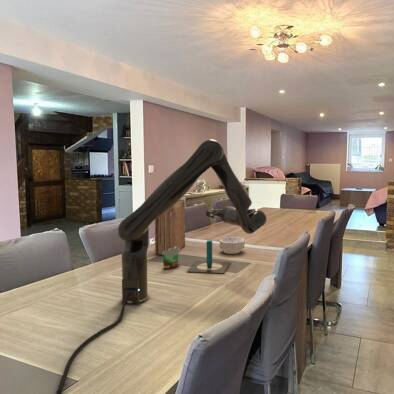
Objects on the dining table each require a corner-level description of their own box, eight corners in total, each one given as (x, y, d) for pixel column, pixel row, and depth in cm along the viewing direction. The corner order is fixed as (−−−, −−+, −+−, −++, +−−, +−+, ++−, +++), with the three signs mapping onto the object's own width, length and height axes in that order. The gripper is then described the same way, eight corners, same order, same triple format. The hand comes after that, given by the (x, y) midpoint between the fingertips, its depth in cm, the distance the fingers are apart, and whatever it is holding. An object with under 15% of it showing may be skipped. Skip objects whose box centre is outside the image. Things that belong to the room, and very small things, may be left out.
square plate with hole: (223, 274, 165) (223, 272, 165) (187, 272, 167) (187, 271, 167) (229, 263, 183) (229, 262, 183) (197, 262, 185) (197, 260, 185)
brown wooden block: (170, 256, 195) (169, 204, 192) (155, 255, 196) (154, 204, 193) (185, 245, 221) (184, 200, 218) (171, 245, 222) (171, 199, 219)
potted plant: (173, 270, 169) (173, 251, 168) (162, 269, 170) (162, 250, 169) (184, 263, 181) (183, 245, 180) (173, 263, 182) (173, 244, 181)
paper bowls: (232, 257, 196) (232, 243, 195) (214, 252, 205) (214, 239, 204) (249, 251, 208) (249, 239, 207) (231, 247, 217) (231, 235, 216)
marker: (211, 268, 171) (211, 241, 170) (206, 268, 171) (206, 241, 170) (212, 267, 174) (212, 240, 173) (207, 266, 174) (207, 240, 173)
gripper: (246, 206, 150) (228, 202, 163) (217, 208, 141) (201, 203, 155) (246, 222, 150) (228, 217, 164) (217, 225, 142) (201, 220, 155)
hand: (215, 211), depth 159 cm, fingers open, 8 cm apart
